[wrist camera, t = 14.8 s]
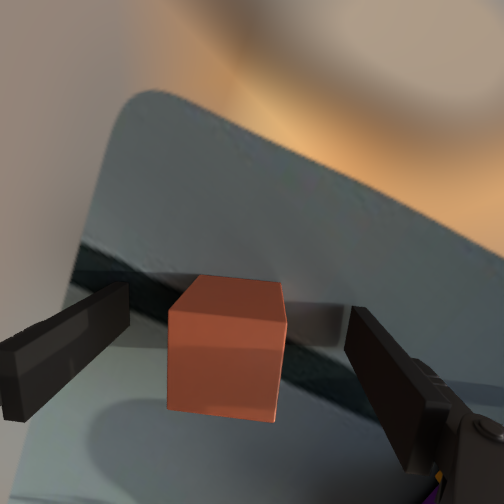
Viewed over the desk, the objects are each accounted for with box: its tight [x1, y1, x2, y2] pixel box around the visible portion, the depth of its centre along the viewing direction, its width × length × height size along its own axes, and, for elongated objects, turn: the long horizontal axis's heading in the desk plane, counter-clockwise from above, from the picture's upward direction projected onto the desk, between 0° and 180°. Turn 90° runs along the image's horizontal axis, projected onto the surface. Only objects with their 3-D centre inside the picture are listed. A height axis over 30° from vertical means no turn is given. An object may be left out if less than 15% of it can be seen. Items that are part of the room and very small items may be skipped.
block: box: [167, 275, 287, 423], centre depth 12 cm, size 5×5×5 cm
